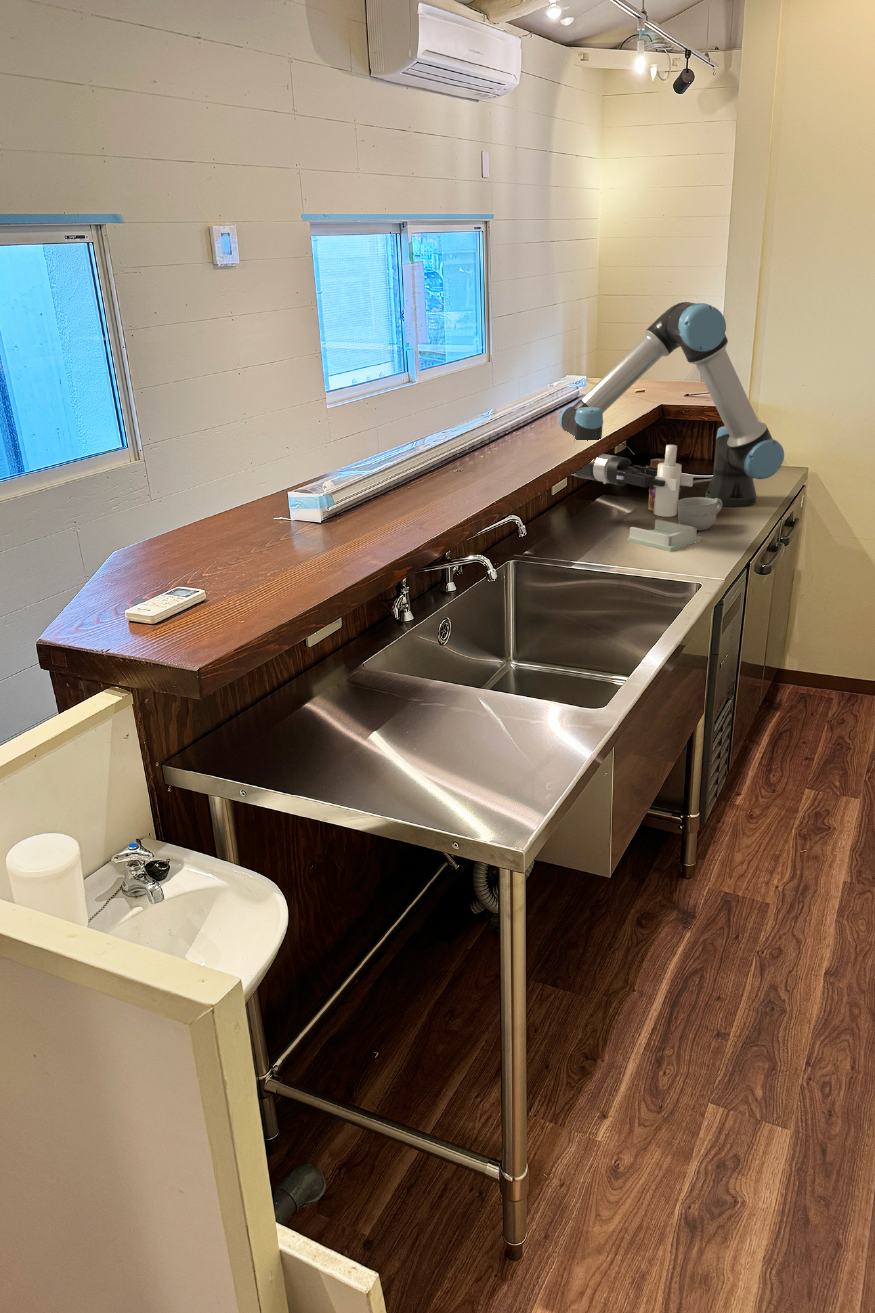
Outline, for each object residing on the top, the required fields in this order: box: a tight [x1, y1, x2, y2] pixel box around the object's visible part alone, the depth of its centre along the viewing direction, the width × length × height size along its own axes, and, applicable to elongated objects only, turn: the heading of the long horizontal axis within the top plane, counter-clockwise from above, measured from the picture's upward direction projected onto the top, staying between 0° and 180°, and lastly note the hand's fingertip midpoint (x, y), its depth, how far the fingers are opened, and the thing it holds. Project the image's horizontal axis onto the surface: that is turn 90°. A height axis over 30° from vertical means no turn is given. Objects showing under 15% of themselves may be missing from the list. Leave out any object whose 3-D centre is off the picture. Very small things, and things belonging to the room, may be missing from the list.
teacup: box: [677, 496, 723, 531], centre depth 267 cm, size 14×11×8 cm
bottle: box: [653, 444, 682, 518], centre depth 250 cm, size 6×6×18 cm
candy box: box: [647, 458, 665, 512], centre depth 281 cm, size 9×4×15 cm, turn 17°
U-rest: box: [626, 518, 703, 552], centre depth 256 cm, size 14×14×4 cm
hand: (684, 483), depth 247 cm, fingers closed on bottle, 6 cm apart
